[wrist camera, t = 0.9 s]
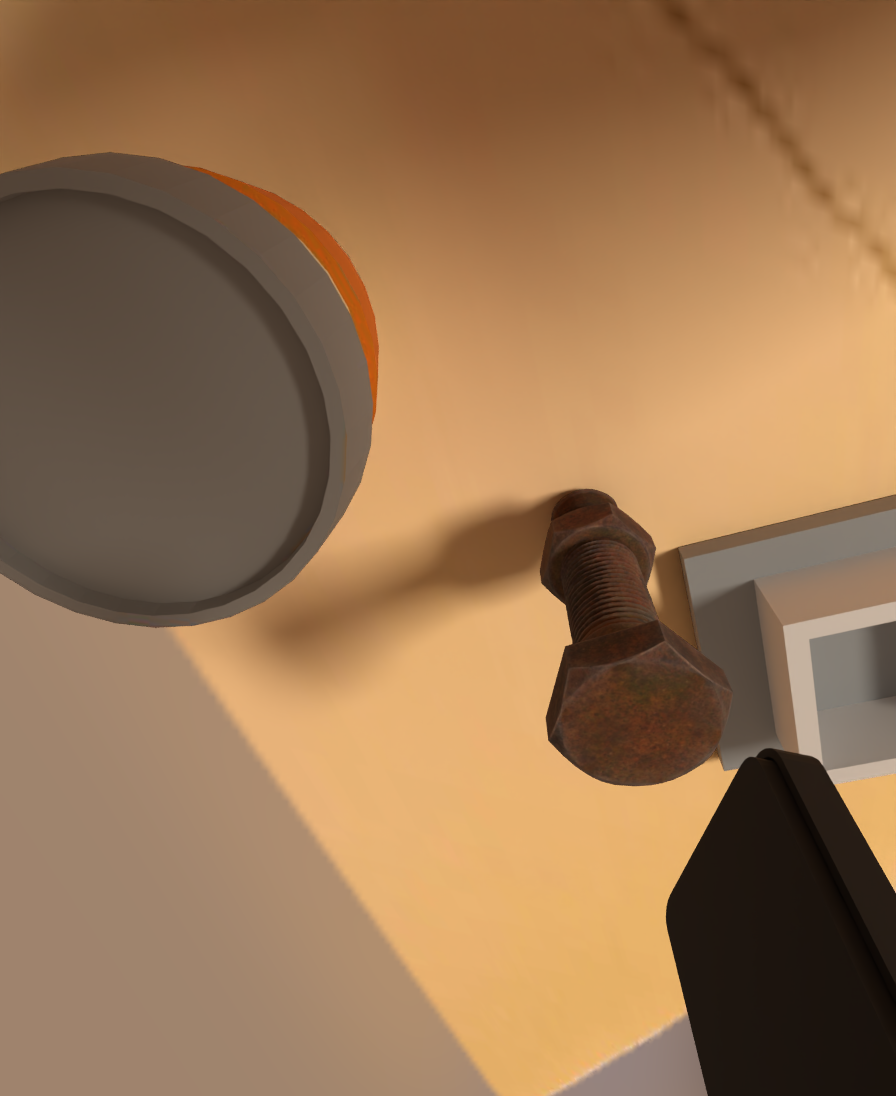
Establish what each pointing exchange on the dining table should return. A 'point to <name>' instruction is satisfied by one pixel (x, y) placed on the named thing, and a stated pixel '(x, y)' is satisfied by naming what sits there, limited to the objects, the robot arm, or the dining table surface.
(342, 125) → the dining table surface
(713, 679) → the bolt
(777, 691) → the board
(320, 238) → the reusable coffee cup
